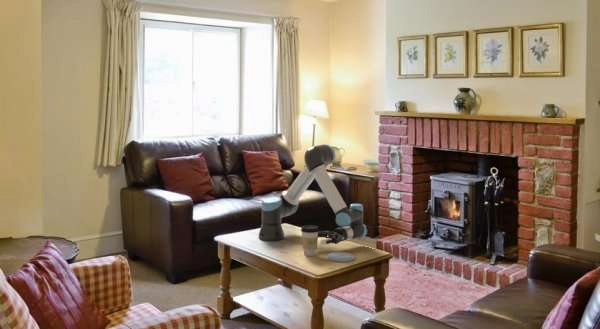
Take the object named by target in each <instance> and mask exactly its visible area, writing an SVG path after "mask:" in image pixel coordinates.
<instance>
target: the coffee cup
mask: <svg viewBox="0 0 600 329" xmlns="http://www.w3.org/2000/svg"><path fill="white" fill-rule="evenodd" d="M318 231H320V228H319V226H317V225H314V224H306V225H302V226H301V229H300V232H301V240H302V241H301V242H302V248H303V250H302V251H303V255H304V256H306V257H313V256H316V253H317V247H318V240H319V237H318Z"/></svg>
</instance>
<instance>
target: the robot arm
mask: <svg viewBox="0 0 600 329" xmlns="http://www.w3.org/2000/svg"><path fill="white" fill-rule="evenodd" d="M304 152H305V153H304V156H303V158H304V159H303V160H304V164H305V166H304V168H302V170H301V172H299V174H298V176H297V177H296V178H295V179H294V181H293V182H292V184H291V185H290V186H289V188H288V190H285V191H283V192H282V193H281V195H280V196H279V197H277V196H271V197H266V198H263V200H261V206H260V207H261V226H260V229H259V232H258V238H259V240H261V241H267V242H268V241H269V242H275V241H276V242H277V241H282V240H283V239H285V232H284V228H283V226H282V218H285V217H289V216H292V215H293V214H295V213H296V212H297V210H298V208H299V203H300V198H301V197H302V196H303V194H304V193H305V191H307V189H308V188H309V187H310V185H311V184H312V182H313V181H314V180H315V181H316V182H317V184H318V186H319V188H320V189H321V191H322V193H323V194H324V197H325V198H326V200H327V202H328V204H329V206H330V207H331V208H332V210H333V212H334V214H335V216H336V217H335V223H336V225H338V226H339V227H337V228H334V231H330V230H325V231H324V230H323V231H320V230H319V231H318V238H324V239H320V246H324V245H330V244H333V245H334V244H335V245H337V244H339V243H340V242H345V241H346V242H348V241H349V240H353V239H354V240H355V239H361V238H364V237H366V235H367V234H368V229H367V226H366V224H365V223H364V205H363V204H361V203H350V205H349V208H348V206H347V204H346V202H345V201H344V199H343V197H342V195H341V194H340V192H339V190H338V188H337V187H336V185H335V184H334V182H333V180H332V178H331V176H330V174H329V173H328V171H327V169H326V168H327V167H328V166H329V165H331V164H333V162H334V161H335V160H336V151H335V149H334V148H333V147H332V146H331V145H329V144H318V145H313V146H310V147H308V148H307V149H306V151H304Z"/></svg>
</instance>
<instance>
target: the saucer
mask: <svg viewBox="0 0 600 329" xmlns="http://www.w3.org/2000/svg"><path fill="white" fill-rule="evenodd" d="M327 260H329V261H331V262H335V263H337V262H338V263H349V262H352V261H354V260H355V255H354V254H352V253H349V252H344V251H343V252H342V251H336V252H330V253H327Z"/></svg>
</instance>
